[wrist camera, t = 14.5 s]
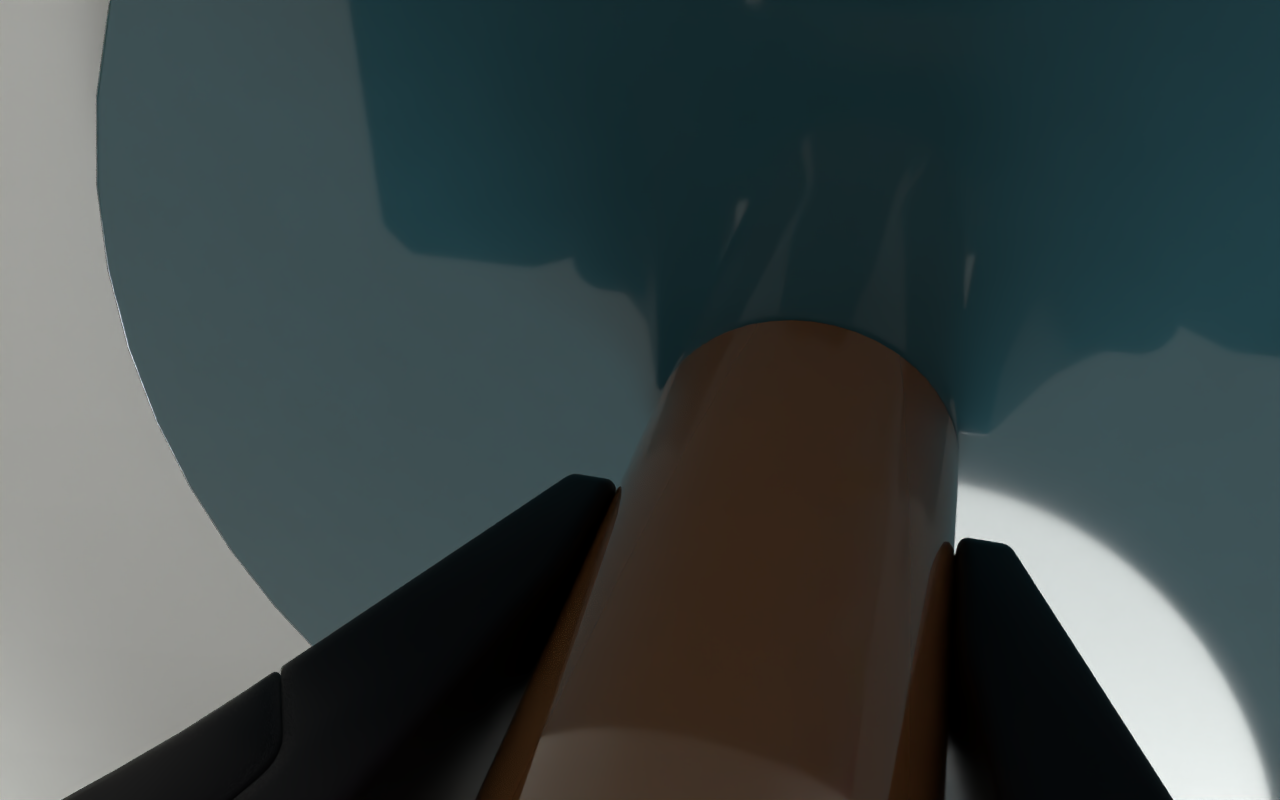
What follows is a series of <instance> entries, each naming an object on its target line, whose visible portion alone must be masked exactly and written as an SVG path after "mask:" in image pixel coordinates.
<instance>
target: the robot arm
mask: <svg viewBox="0 0 1280 800" xmlns="http://www.w3.org/2000/svg"><path fill="white" fill-rule="evenodd" d="M615 493H616V487H615V484H614V483H613V482H612V481H611V480H610V479H606V478H600V477H594V476H588V475H582V474H571V475H568V476H566V477H565V478H563V479H562V480H560V481H559V482H557V483H556V484H554V485H553V486H551V487H550V488H548V489H547V490H545V491H544V492H542V493H541V494H539V495H538V496H536V497H535V498H533V499H532V500H530V501H529V502H527V503H526V504H524V505H523V506H521V507H520V508H518V509H517V510H515V511H514V512H512V513H511V514H509V515H508V516H506V517H505V518H503V519H502V520H500V521H499V522H497V523H496V524H494V525H493V526H491V527H490V528H488V529H487V530H485V531H484V532H482V533H481V534H479V535H478V536H476V537H475V538H473V539H472V540H470V541H469V542H467V543H466V544H464V545H463V546H462V547H460V548H459V549H457V550H456V551H454V552H453V553H451V554H450V555H448V556H447V557H445V558H444V559H442V560H441V561H439V562H438V563H436V564H435V565H433V566H432V567H430V568H429V569H427V570H426V571H424V572H423V573H421V574H420V575H418V576H417V577H415V578H414V579H412V580H411V581H409V582H408V583H406V584H405V585H403V586H402V587H400V588H399V589H397V590H396V591H394V592H393V593H391V594H390V595H388V596H387V597H385V598H384V599H382V600H381V601H379V602H378V603H376V604H375V605H373V606H372V607H370V608H369V609H367V610H366V611H364V612H363V613H361V614H360V615H358V616H357V617H355V618H354V619H352V620H351V621H349V622H348V623H346V624H345V625H343V626H342V627H340V628H339V629H337V630H336V631H334V632H333V633H331V634H330V635H328V636H327V637H325V638H324V639H322V640H321V641H319V642H318V643H316V644H315V645H313V646H312V647H310V648H309V649H307V650H306V651H304V652H303V653H301V654H300V655H298V656H297V657H296V658H294V659H293V660H291V661H290V662H288V663H287V664H285V665H284V666H282V668H281V675H280V674H279V673H278V672H273V673H271V674H270V675H268V676H267V677H265V678H264V679H262V680H261V681H259V682H258V683H256V684H255V685H253V686H252V687H250V688H249V689H247V690H246V691H244V692H243V693H241V694H240V695H238V696H237V697H235V698H233V699H232V700H230V701H229V702H227V703H226V704H224V705H222V706H221V707H219V708H218V709H216V710H215V711H213V712H211V713H210V714H208V715H207V716H205V717H204V718H202V719H200V720H199V721H197V722H196V723H194V724H193V725H191V726H189V727H188V728H186V729H185V730H183V731H182V732H180V733H178V734H176V735H175V736H173V737H171V738H170V739H168V740H166V741H164V742H163V743H161V744H159V745H158V746H156V747H154V748H152V749H151V750H149V751H147V752H145V753H144V754H142V755H140V756H139V757H137V758H135V759H133V760H132V761H130V762H128V763H126V764H125V765H123V766H121V767H120V768H118V769H116V770H114V771H113V772H111V773H109V774H107V775H105V776H104V777H102V778H100V779H98V780H96V781H95V782H93V783H91V784H89V785H87V786H86V787H84V788H82V789H80V790H78V791H77V792H75V793H73V794H71V795H69V796H68V797H66V798H64V799H62V800H475V798H476V796H477V794H478V792H479V790H480V787H481V785H482V783H483V781H484V779H485V776H486V774H487V772H488V770H489V768H490V766H491V763H492V761H493V759H494V757H495V755H496V752H497V750H498V748H499V746H500V744H501V742H502V739H503V737H504V735H505V733H506V731H507V728H508V726H509V724H510V722H511V720H512V717H513V715H514V713H515V711H516V709H517V707H518V704H519V702H520V700H521V698H522V696H523V693H524V691H525V689H526V687H527V685H528V683H529V680H530V678H531V676H532V674H533V672H534V669H535V667H536V665H537V663H538V661H539V659H540V656H541V654H542V652H543V650H544V648H545V645H546V643H547V641H548V639H549V637H550V635H551V632H552V630H553V628H554V626H555V624H556V621H557V619H558V617H559V615H560V613H561V611H562V608H563V606H564V604H565V602H566V600H567V597H568V595H569V593H570V591H571V589H572V586H573V584H574V582H575V580H576V578H577V576H578V573H579V571H580V569H581V567H582V565H583V562H584V560H585V558H586V556H587V554H588V552H589V549H590V547H591V545H592V543H593V541H594V538H595V536H596V534H597V532H598V530H599V528H600V525H601V523H602V521H603V519H604V517H605V514H606V512H607V510H608V508H609V506H610V504H611V501H612V499H613V497H614V495H615ZM946 800H1173V798H1172V797H1171V795H1170V794H1169V792H1168V790H1167V789H1166V787H1165V786H1164V784H1163V783H1162V781H1161V780H1160V778H1159V776H1158V775H1157V773H1156V772H1155V770H1154V769H1153V767H1152V766H1151V764H1150V762H1149V761H1148V759H1147V758H1146V756H1145V755H1144V753H1143V751H1142V750H1141V748H1140V747H1139V745H1138V744H1137V742H1136V741H1135V739H1134V737H1133V736H1132V734H1131V733H1130V731H1129V730H1128V728H1127V727H1126V725H1125V723H1124V722H1123V720H1122V719H1121V717H1120V716H1119V714H1118V712H1117V711H1116V709H1115V708H1114V706H1113V705H1112V703H1111V702H1110V700H1109V698H1108V697H1107V695H1106V694H1105V692H1104V691H1103V689H1102V688H1101V686H1100V684H1099V683H1098V681H1097V680H1096V678H1095V677H1094V675H1093V673H1092V672H1091V670H1090V669H1089V667H1088V666H1087V664H1086V663H1085V661H1084V659H1083V658H1082V656H1081V655H1080V653H1079V652H1078V650H1077V649H1076V647H1075V645H1074V644H1073V642H1072V641H1071V639H1070V638H1069V636H1068V634H1067V633H1066V631H1065V630H1064V628H1063V627H1062V625H1061V624H1060V622H1059V620H1058V619H1057V617H1056V616H1055V614H1054V613H1053V611H1052V610H1051V608H1050V606H1049V605H1048V603H1047V602H1046V600H1045V599H1044V597H1043V595H1042V594H1041V592H1040V591H1039V589H1038V588H1037V586H1036V585H1035V583H1034V581H1033V580H1032V578H1031V577H1030V575H1029V574H1028V572H1027V571H1026V569H1025V567H1024V566H1023V564H1022V563H1021V561H1020V560H1019V558H1018V556H1017V555H1016V553H1015V552H1014V550H1013V549H1012V548H1011V547H1010V546H1008V545H1006V544H1003V543H998V542H992V541H986V540H980V539H973V538H963V539H961V540H960V542H959V543H958V545H957V548H956V552H955V562H954V587H953V612H952V638H951V663H950V704H949V729H948V755H947V781H946Z"/></svg>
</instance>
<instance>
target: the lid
mask: <svg viewBox="0 0 1280 800" xmlns="http://www.w3.org/2000/svg"><path fill="white" fill-rule="evenodd" d="M96 186H97V194H98V201H99V209H100V217H101V224H102V232H103V239H104V247H105V255H106V262H107V269H108V273H109V277H110V281H111V285H112V289H113V293H114V296H115V300H116V304H117V308H118V312H119V316H120V320H121V324H122V328H123V331H124V335H125V339H126V343H127V347H128V350H129V352H130V355H131V357H132V360H133V363H134V365H135V368H136V371H137V373H138V376H139V378H140V381H141V384H142V386H143V389H144V391H145V394H146V397H147V399H148V402H149V405H150V407H151V410H152V412H153V415H154V418H155V420H156V422H157V424H158V426H159V428H160V430H161V432H162V434H163V436H164V438H165V440H166V442H167V444H168V446H169V448H170V450H171V452H172V453H173V455H174V457H175V459H176V461H177V463H178V465H179V467H180V469H181V471H182V473H183V475H184V477H185V479H186V481H187V483H188V485H189V487H190V489H191V490H192V492H193V493H194V495H195V496H196V498H197V499H198V501H199V503H200V504H201V506H202V507H203V509H204V510H205V512H206V513H207V515H208V517H209V518H210V520H211V521H212V523H213V524H214V526H215V527H216V529H217V531H218V532H219V534H220V535H221V537H222V538H223V540H224V541H225V543H226V545H227V546H228V548H229V549H230V551H231V552H232V553H233V554H234V556H235V557H236V558H237V559H238V561H239V562H240V563H241V565H242V566H243V567H244V568H245V570H246V571H247V572H248V574H249V575H250V576H251V577H252V579H253V580H254V581H255V582H256V584H257V585H258V586H259V588H260V589H261V590H262V591H263V593H264V594H265V595H266V596H267V598H268V599H269V600H270V602H271V603H272V604H273V605H274V607H275V608H276V609H277V610H278V611H279V612H280V613H281V614H282V615H283V616H284V617H285V618H286V619H287V621H288V622H289V623H290V624H291V625H292V626H293V627H294V628H295V629H296V630H297V631H298V632H299V633H300V634H301V635H302V636H303V638H304V639H305V640H306V641H307V642H308V643H309V644H310V645H311V646H313V645H315V644H316V643H318V642H319V641H321V640H322V639H324V638H325V637H327V636H328V635H330V634H331V633H333V632H334V631H336V630H337V629H339V628H340V627H342V626H343V625H345V624H346V623H348V622H349V621H351V620H352V619H354V618H355V617H357V616H358V615H360V614H361V613H363V612H364V611H366V610H367V609H369V608H370V607H372V606H373V605H375V604H376V603H378V602H379V601H381V600H382V599H384V598H385V597H387V596H388V595H390V594H391V593H393V592H394V591H396V590H397V589H399V588H400V587H402V586H403V585H405V584H406V583H408V582H409V581H411V580H412V579H414V578H415V577H417V576H418V575H420V574H421V573H423V572H424V571H426V570H427V569H429V568H430V567H432V566H433V565H435V564H436V563H438V562H439V561H441V560H442V559H444V558H445V557H447V556H448V555H450V554H451V553H453V552H454V551H456V550H457V549H459V548H460V547H462V546H463V545H464V544H466V543H467V542H469V541H470V540H472V539H473V538H475V537H476V536H478V535H479V534H481V533H482V532H484V531H485V530H487V529H488V528H490V527H491V526H493V525H494V524H496V523H497V522H499V521H500V520H502V519H503V518H505V517H506V516H508V515H509V514H511V513H512V512H514V511H515V510H517V509H518V508H520V507H521V506H523V505H524V504H526V503H527V502H529V501H530V500H532V499H533V498H535V497H536V496H538V495H539V494H541V493H542V492H544V491H545V490H547V489H548V488H550V487H551V486H553V485H554V484H556V483H557V482H559V481H560V480H562V479H563V478H565V477H566V476H568V475H571V474H582V475H588V476H594V477H600V478H606V479H610V480H611V481H612V482H613V483H614V484H615V487H616V493H615V495H614V497H613V499H612V501H611V504H610V506H609V508H608V510H607V512H606V514H605V517H604V519H603V521H602V523H601V525H600V528H599V530H598V532H597V534H596V536H595V538H594V541H593V543H592V545H591V547H590V549H589V552H588V554H587V556H586V558H585V560H584V562H583V565H582V567H581V569H580V571H579V573H578V576H577V578H576V580H575V582H574V584H573V586H572V589H571V591H570V593H569V595H568V597H567V600H566V602H565V604H564V606H563V608H562V611H561V613H560V615H559V617H558V619H557V621H556V624H555V626H554V628H553V630H552V632H551V635H550V637H549V639H548V641H547V643H546V645H545V648H544V650H543V652H542V654H541V656H540V659H539V661H538V663H537V665H536V667H535V669H534V672H533V674H532V676H531V678H530V680H529V683H528V685H527V687H526V689H525V691H524V693H523V696H522V698H521V700H520V702H519V704H518V707H517V709H516V711H515V713H514V715H513V717H512V720H511V722H510V724H509V726H508V728H507V731H506V733H505V735H504V737H503V739H502V742H501V744H500V746H499V748H498V750H497V752H496V755H495V757H494V759H493V761H492V763H491V766H490V768H489V770H488V772H487V774H486V776H485V779H484V781H483V783H482V785H481V787H480V790H479V792H478V794H477V796H476V798H475V800H946V781H947V755H948V729H949V704H950V663H951V638H952V612H953V587H954V562H955V552H956V548H957V545H958V543H959V542H960V540H961V539H963V538H973V539H980V540H986V541H992V542H998V543H1003V544H1006V545H1008V546H1010V547H1011V548H1012V549H1013V550H1014V552H1015V553H1016V555H1017V556H1018V558H1019V560H1020V561H1021V563H1022V564H1023V566H1024V567H1025V569H1026V571H1027V572H1028V574H1029V575H1030V577H1031V578H1032V580H1033V581H1034V583H1035V585H1036V586H1037V588H1038V589H1039V591H1040V592H1041V594H1042V595H1043V597H1044V599H1045V600H1046V602H1047V603H1048V605H1049V606H1050V608H1051V610H1052V611H1053V613H1054V614H1055V616H1056V617H1057V619H1058V620H1059V622H1060V624H1061V625H1062V627H1063V628H1064V630H1065V631H1066V633H1067V634H1068V636H1069V638H1070V639H1071V641H1072V642H1073V644H1074V645H1075V647H1076V649H1077V650H1078V652H1079V653H1080V655H1081V656H1082V658H1083V659H1084V661H1085V663H1086V664H1087V666H1088V667H1089V669H1090V670H1091V672H1092V673H1093V675H1094V677H1095V678H1096V680H1097V681H1098V683H1099V684H1100V686H1101V688H1102V689H1103V691H1104V692H1105V694H1106V695H1107V697H1108V698H1109V700H1110V702H1111V703H1112V705H1113V706H1114V708H1115V709H1116V711H1117V712H1118V714H1119V716H1120V717H1121V719H1122V720H1123V722H1124V723H1125V725H1126V727H1127V728H1128V730H1129V731H1130V733H1131V734H1132V736H1133V737H1134V739H1135V741H1136V742H1137V744H1138V745H1139V747H1140V748H1141V750H1142V751H1143V753H1144V755H1145V756H1146V758H1147V759H1148V761H1149V762H1150V764H1151V766H1152V767H1153V769H1154V770H1155V772H1156V773H1157V775H1158V776H1159V778H1160V780H1161V781H1162V783H1163V784H1164V786H1165V787H1166V789H1167V790H1168V792H1169V794H1170V795H1171V797H1172V798H1173V800H1280V0H110V1H109V6H108V13H107V20H106V28H105V35H104V42H103V50H102V57H101V64H100V72H99V79H98V86H97V94H96Z"/></svg>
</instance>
